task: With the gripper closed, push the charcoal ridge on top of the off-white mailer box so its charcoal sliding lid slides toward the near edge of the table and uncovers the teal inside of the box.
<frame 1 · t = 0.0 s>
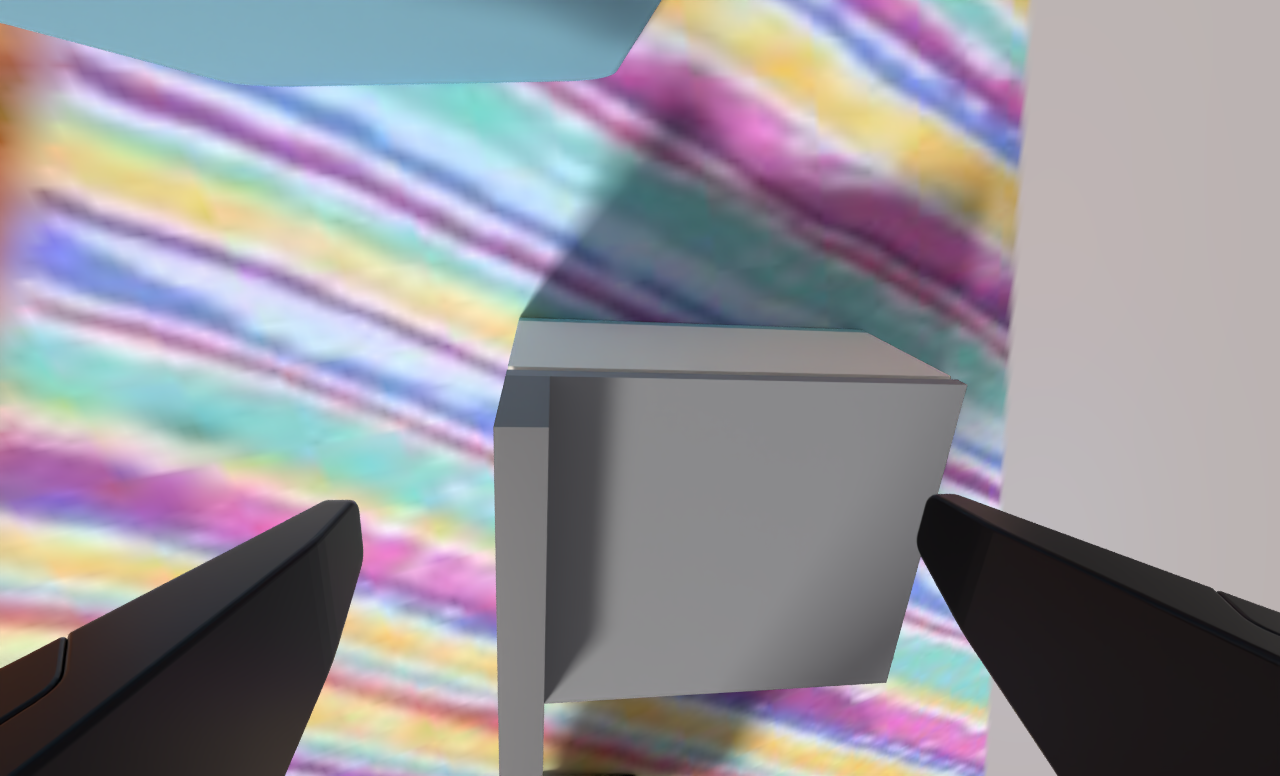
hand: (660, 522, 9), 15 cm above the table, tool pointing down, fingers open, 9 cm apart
data package: (424, 7, 19), on the table
lid: (739, 583, 18), point 8 cm above the table, slide at 0.0 cm
mailer box: (683, 458, 26), on the table
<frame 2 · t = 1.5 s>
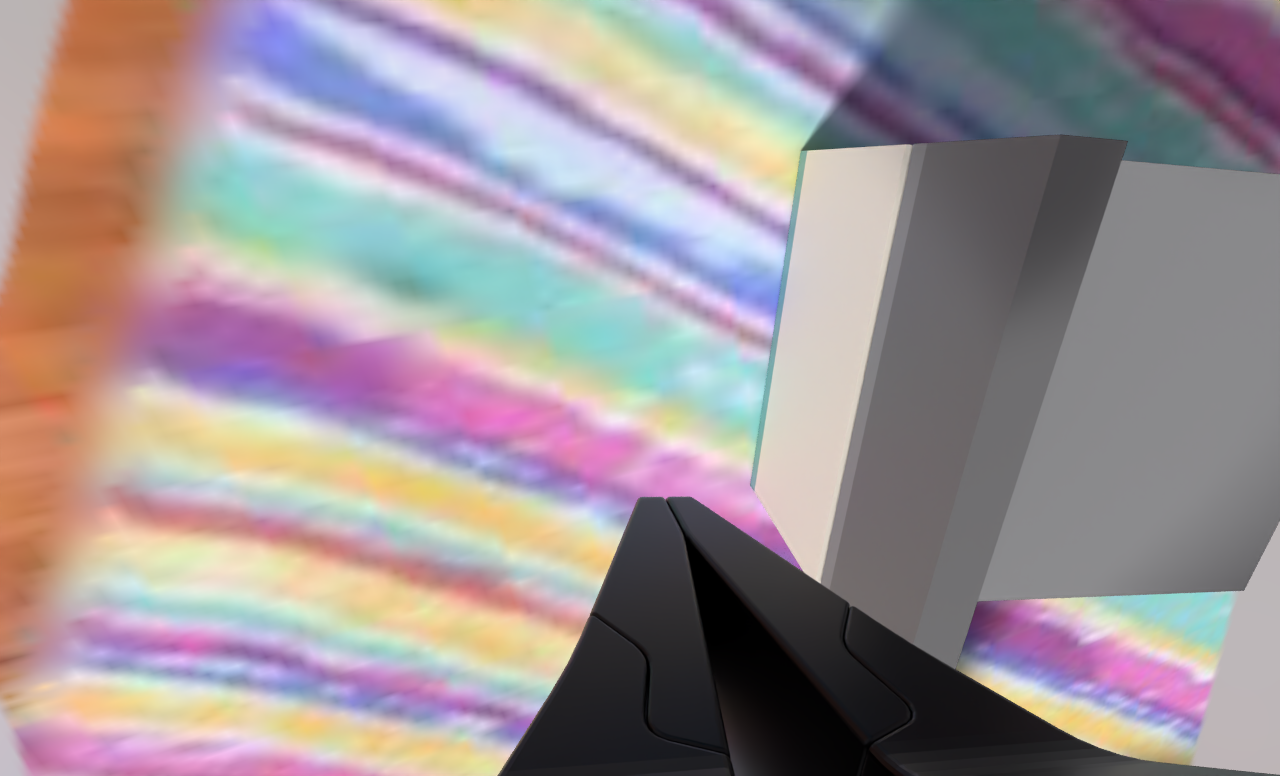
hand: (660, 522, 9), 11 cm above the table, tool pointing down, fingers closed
lid: (1173, 436, 14), point 8 cm above the table, slide at 0.0 cm
mailer box: (954, 340, 22), on the table
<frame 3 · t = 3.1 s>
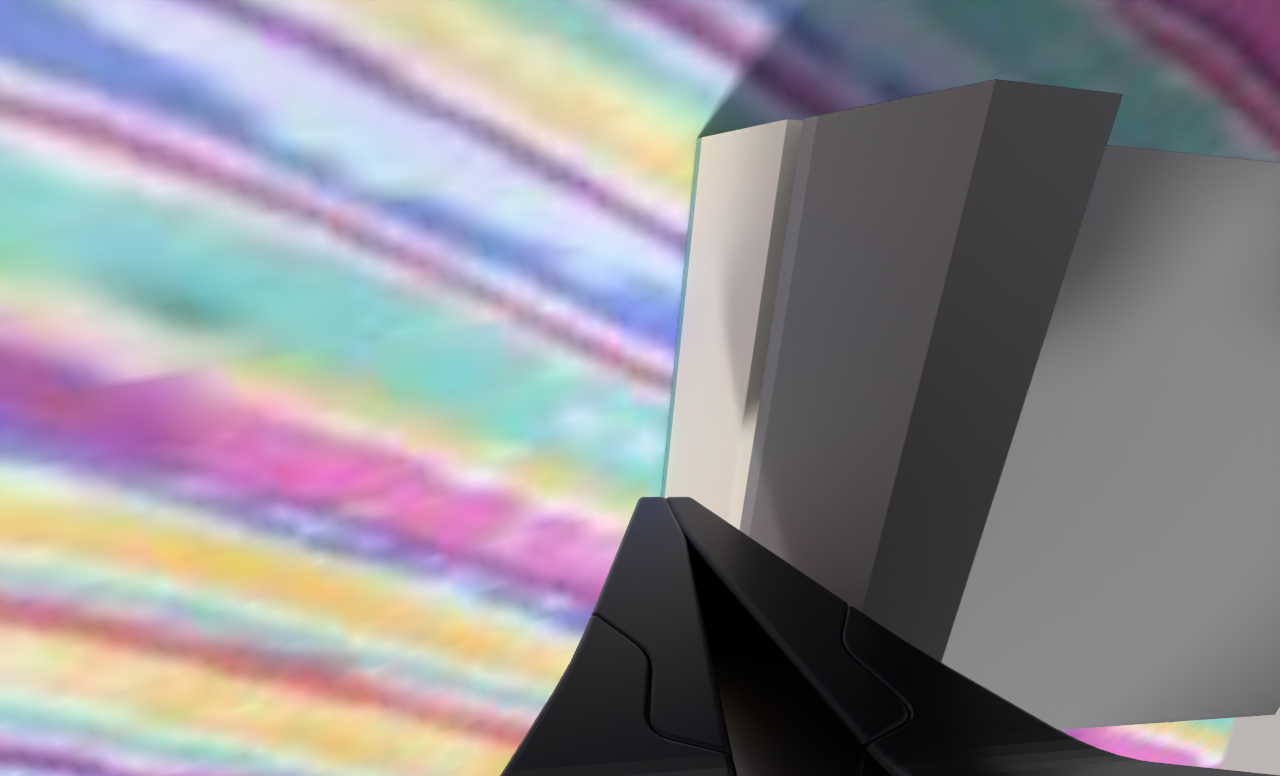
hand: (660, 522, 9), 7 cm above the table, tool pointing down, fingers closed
lid: (1189, 544, 10), point 8 cm above the table, slide at 0.1 cm, touching gripper
mailer box: (905, 378, 17), on the table
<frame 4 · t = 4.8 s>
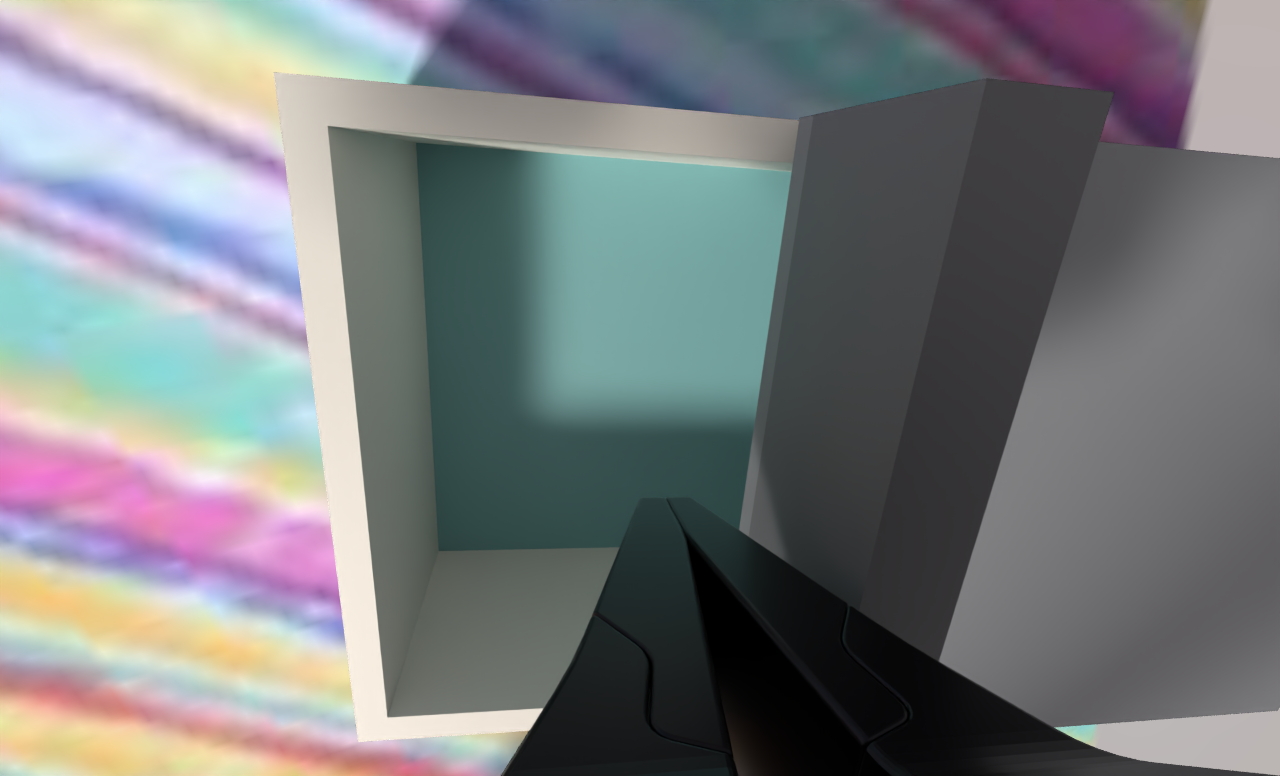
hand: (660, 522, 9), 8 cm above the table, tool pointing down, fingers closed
lid: (1188, 541, 10), point 8 cm above the table, slide at 7.2 cm, touching gripper
mailer box: (671, 371, 16), on the table
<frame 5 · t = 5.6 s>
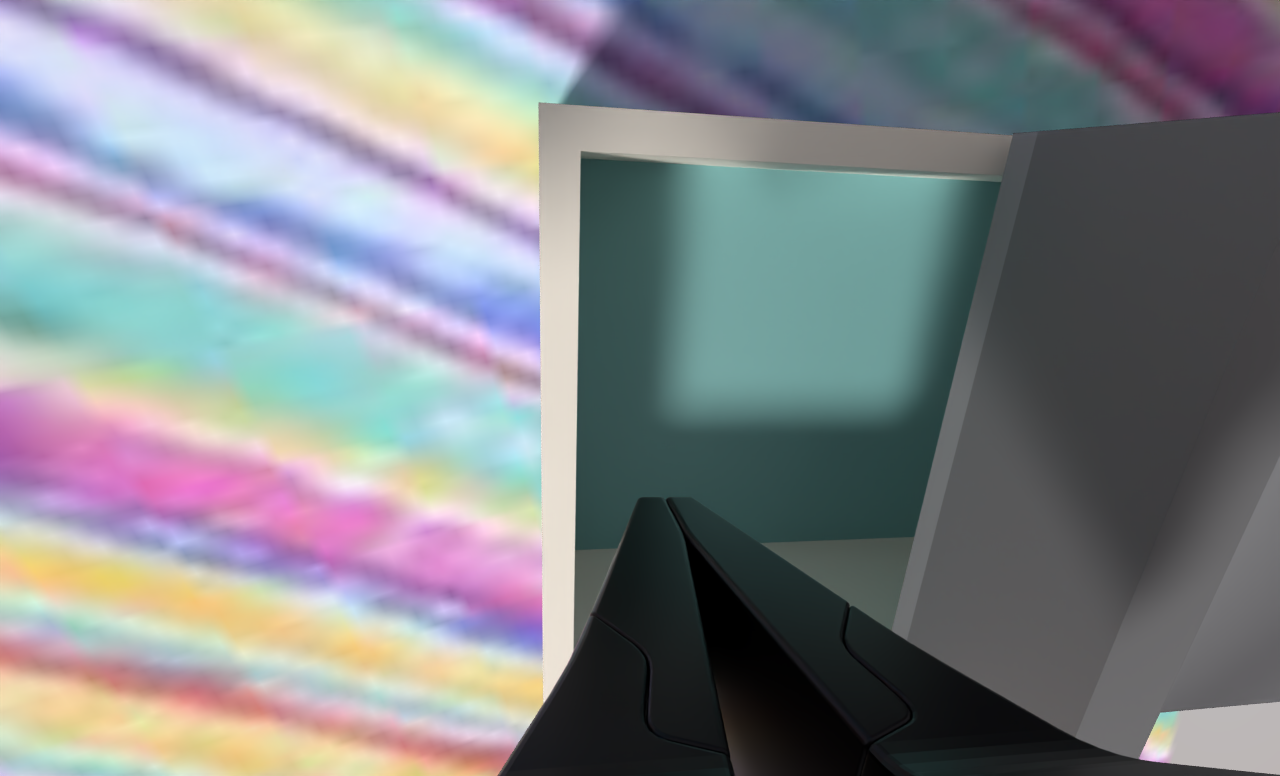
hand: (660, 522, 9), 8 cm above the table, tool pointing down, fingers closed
mailer box: (792, 372, 17), on the table
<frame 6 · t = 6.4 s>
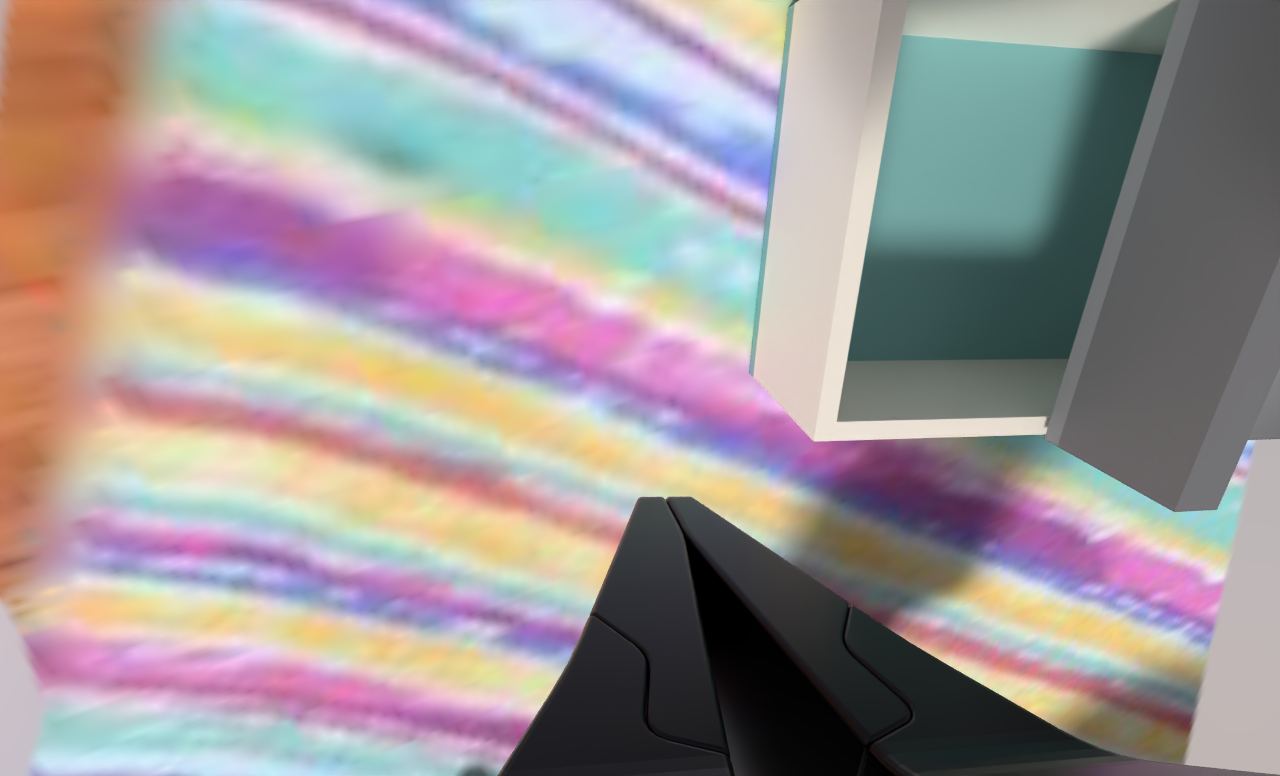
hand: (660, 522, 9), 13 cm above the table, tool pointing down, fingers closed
mailer box: (951, 214, 21), on the table
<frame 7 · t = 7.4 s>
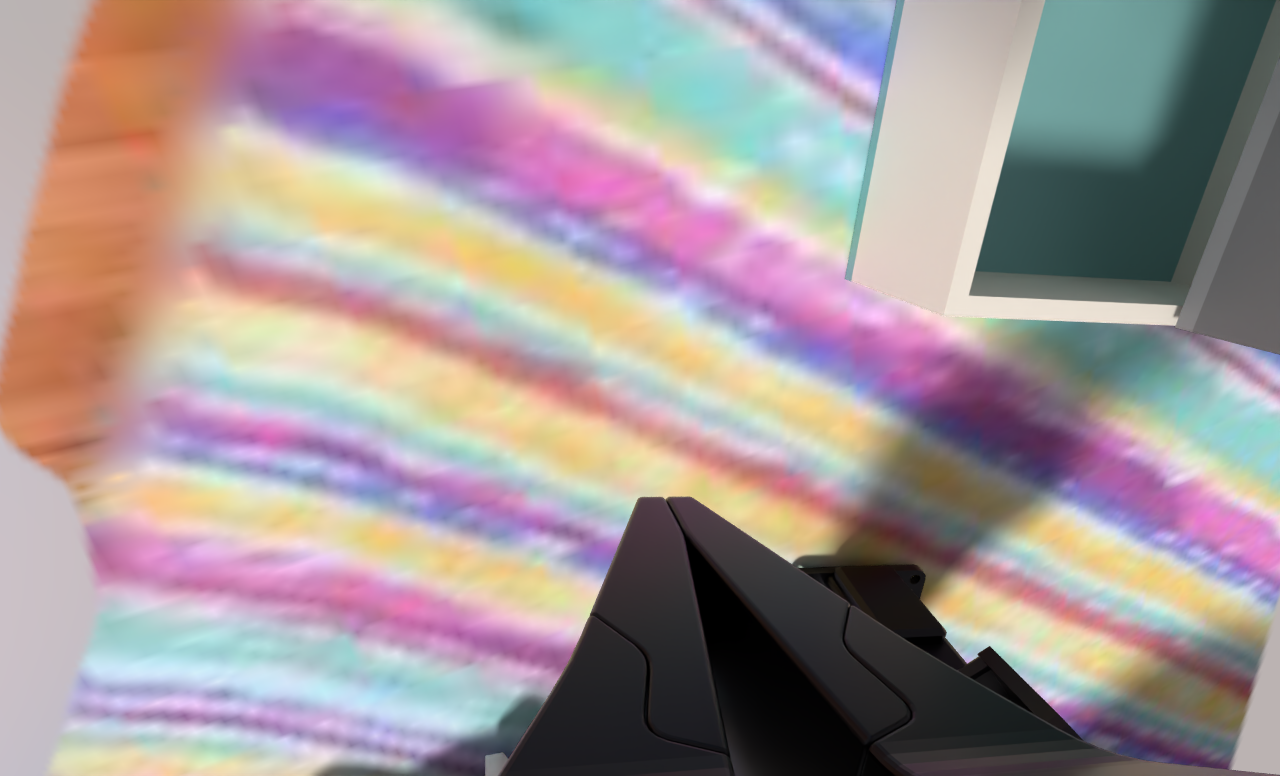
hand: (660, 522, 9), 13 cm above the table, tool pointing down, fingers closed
mailer box: (1060, 119, 21), on the table
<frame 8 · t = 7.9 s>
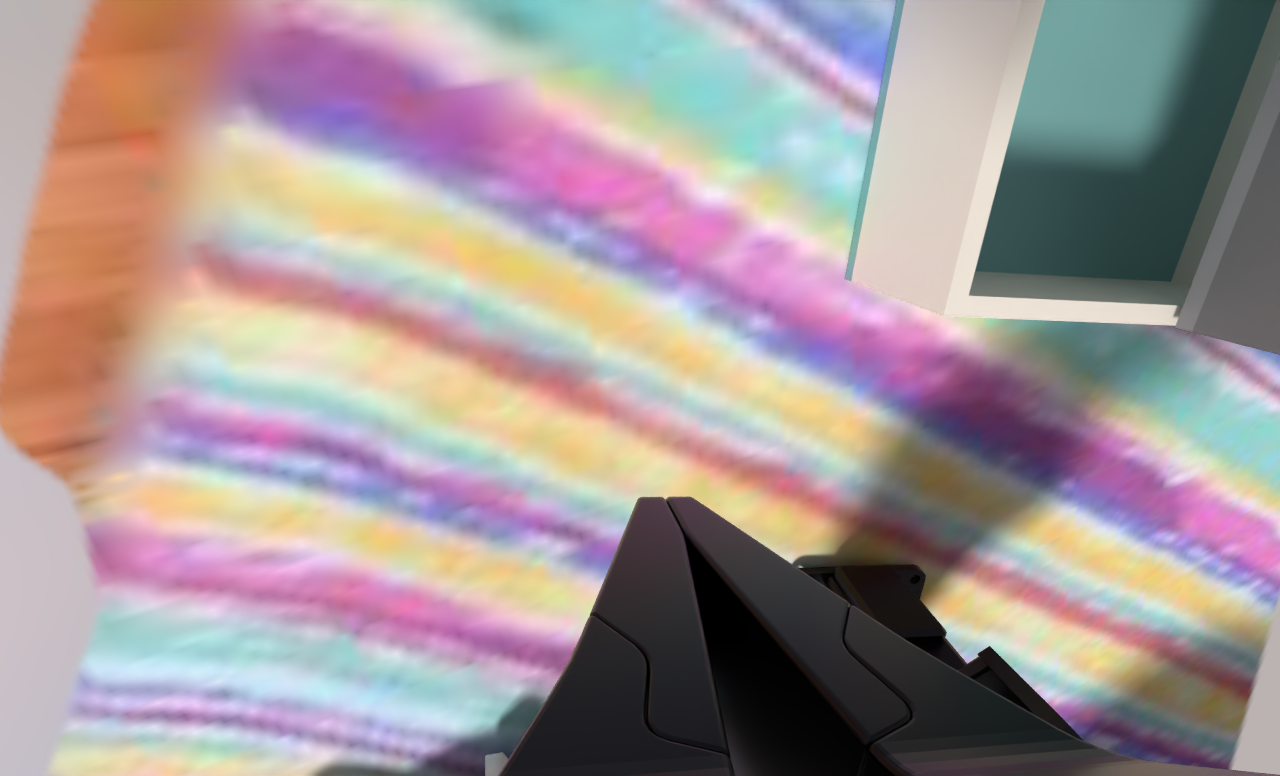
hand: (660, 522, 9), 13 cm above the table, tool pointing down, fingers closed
mailer box: (1060, 119, 21), on the table
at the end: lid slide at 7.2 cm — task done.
